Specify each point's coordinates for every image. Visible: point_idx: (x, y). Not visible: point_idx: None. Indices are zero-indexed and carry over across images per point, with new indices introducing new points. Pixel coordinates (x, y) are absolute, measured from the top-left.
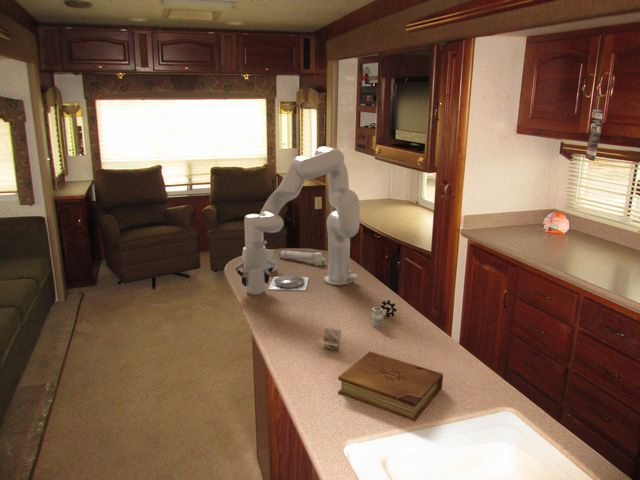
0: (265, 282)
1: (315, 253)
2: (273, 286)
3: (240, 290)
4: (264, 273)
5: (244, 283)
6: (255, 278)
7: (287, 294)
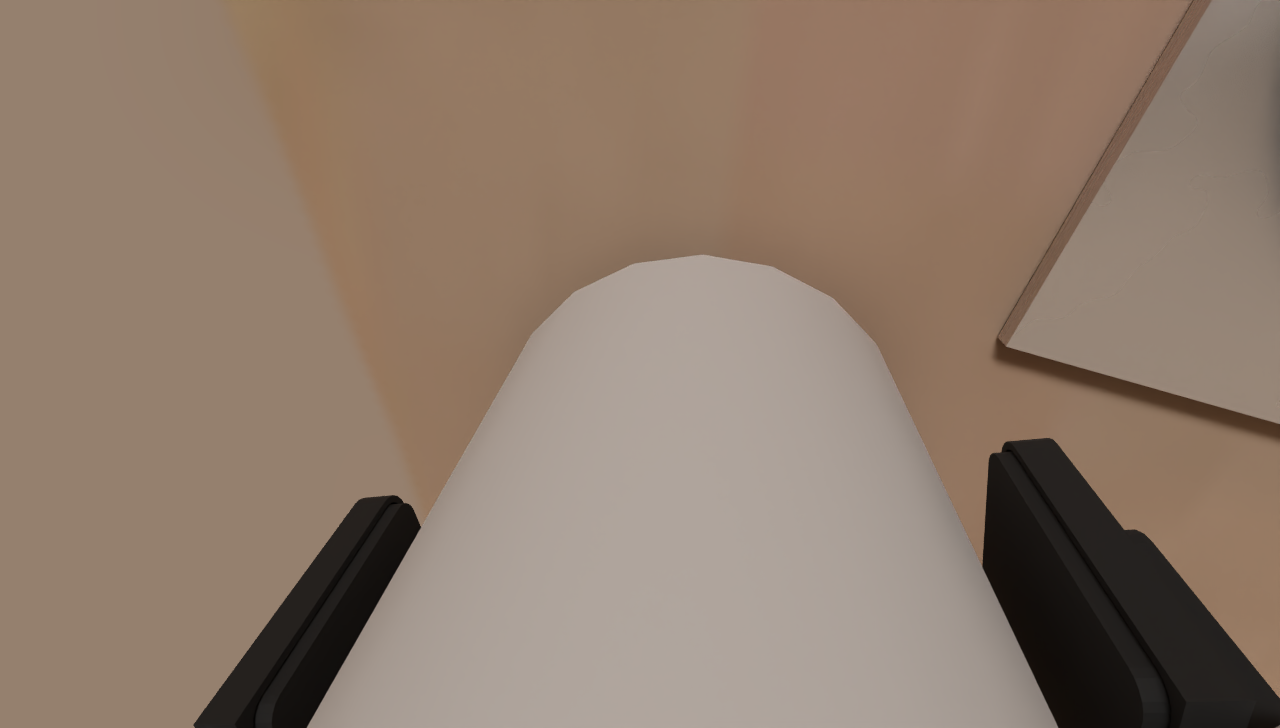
0: (987, 535)
1: None
2: (1217, 202)
3: (371, 246)
4: (1140, 708)
5: None
6: None
7: (1277, 624)
